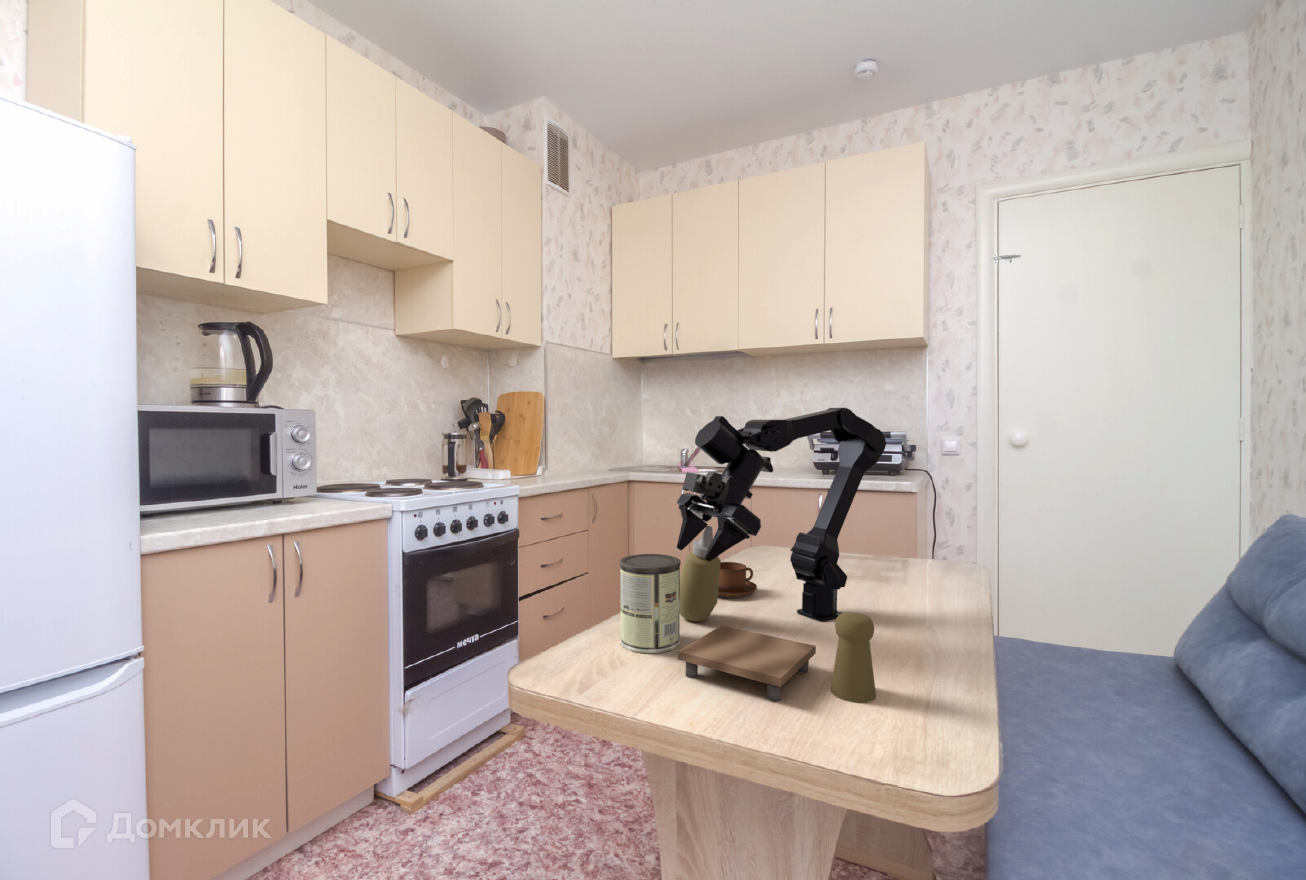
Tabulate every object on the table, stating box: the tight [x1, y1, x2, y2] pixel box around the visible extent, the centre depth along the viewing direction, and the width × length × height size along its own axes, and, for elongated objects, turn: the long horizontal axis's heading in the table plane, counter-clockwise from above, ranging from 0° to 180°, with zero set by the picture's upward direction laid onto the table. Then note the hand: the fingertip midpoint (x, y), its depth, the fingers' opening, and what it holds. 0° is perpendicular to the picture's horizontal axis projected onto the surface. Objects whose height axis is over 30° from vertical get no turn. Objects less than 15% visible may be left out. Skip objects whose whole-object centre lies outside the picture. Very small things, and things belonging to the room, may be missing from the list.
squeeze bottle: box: [679, 525, 721, 622], centre depth 113 cm, size 8×8×18 cm
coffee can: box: [619, 553, 681, 654], centre depth 103 cm, size 10×10×14 cm
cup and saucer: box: [718, 561, 758, 598], centre depth 133 cm, size 12×12×6 cm
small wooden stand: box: [677, 624, 817, 702], centre depth 91 cm, size 16×14×4 cm
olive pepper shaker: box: [830, 611, 877, 704], centre depth 84 cm, size 6×6×11 cm
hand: (692, 554), depth 104 cm, fingers open, 9 cm apart
